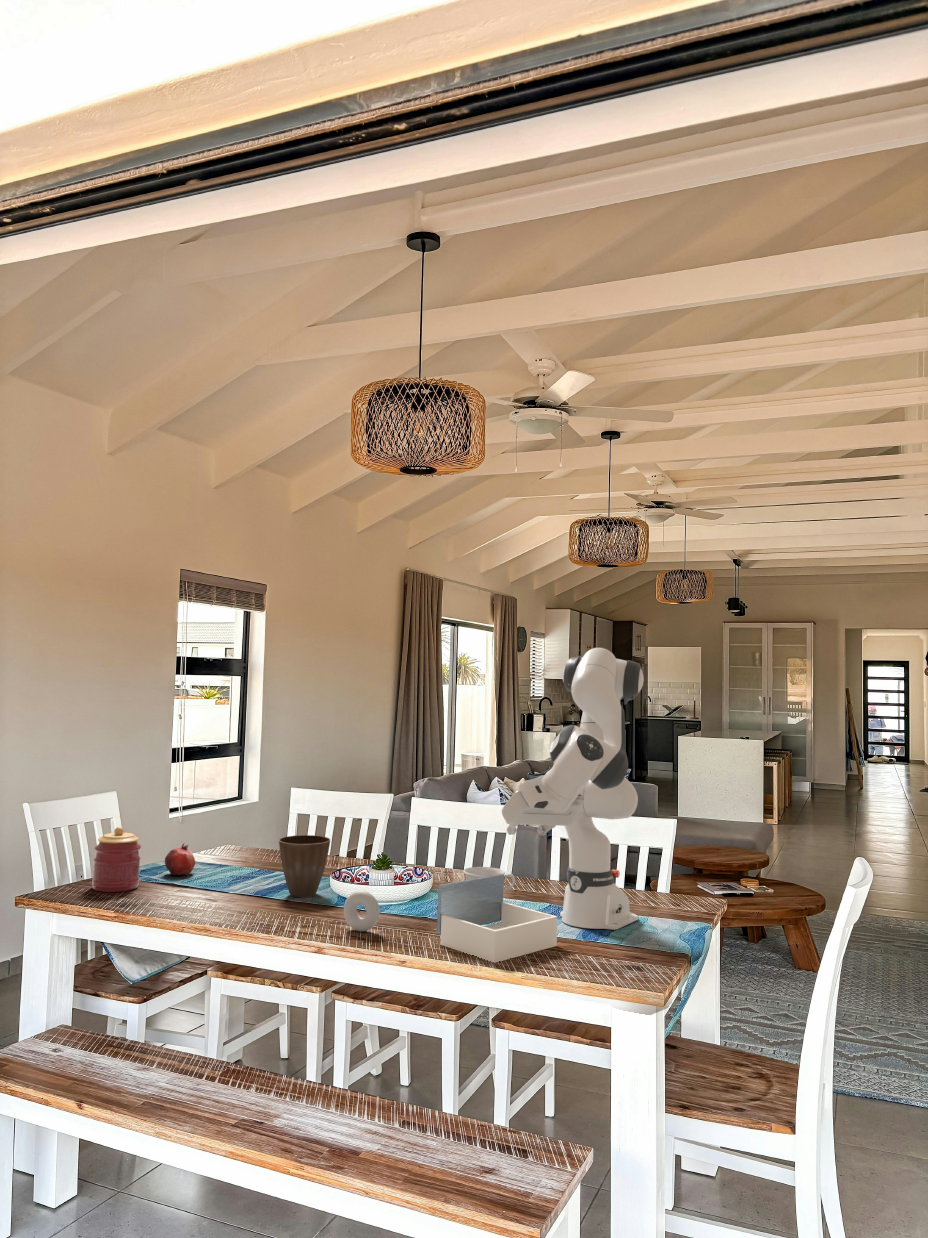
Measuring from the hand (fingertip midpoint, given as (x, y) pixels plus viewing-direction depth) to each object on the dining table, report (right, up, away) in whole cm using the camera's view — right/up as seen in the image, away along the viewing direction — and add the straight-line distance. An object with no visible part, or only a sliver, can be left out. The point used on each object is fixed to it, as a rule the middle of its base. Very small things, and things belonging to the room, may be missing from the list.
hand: (525, 833), depth 212 cm
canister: (-117, -28, +49) cm, 130 cm away
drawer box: (-6, -28, +4) cm, 29 cm away
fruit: (-105, -30, +70) cm, 129 cm away
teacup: (-8, -31, +41) cm, 52 cm away
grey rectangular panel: (-13, -26, +11) cm, 32 cm away
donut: (-41, -28, +12) cm, 51 cm away
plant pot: (-62, -30, +49) cm, 84 cm away
